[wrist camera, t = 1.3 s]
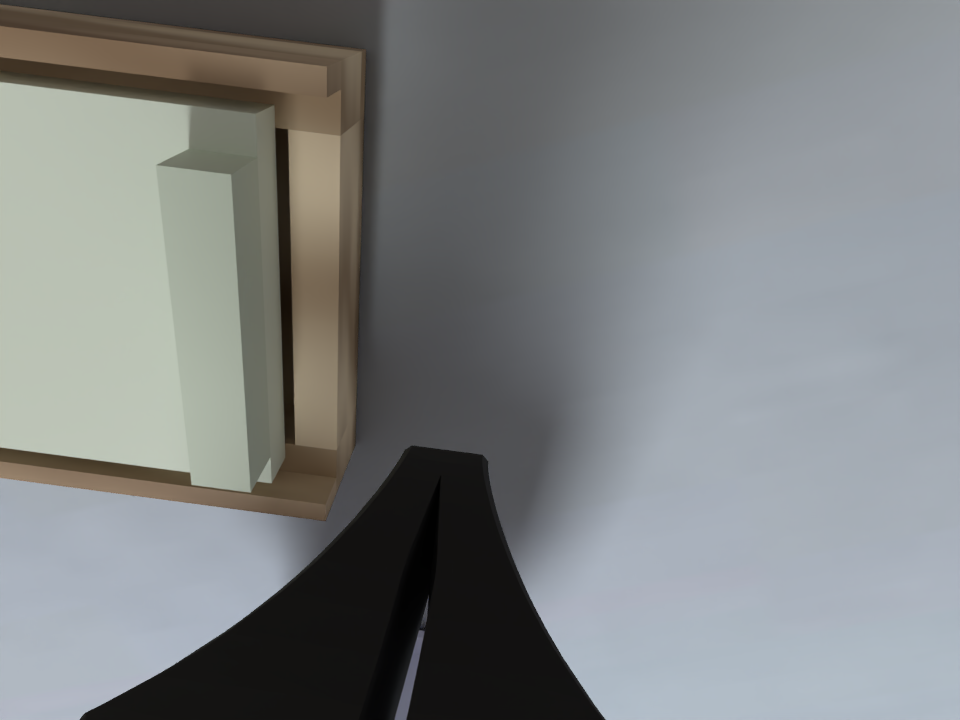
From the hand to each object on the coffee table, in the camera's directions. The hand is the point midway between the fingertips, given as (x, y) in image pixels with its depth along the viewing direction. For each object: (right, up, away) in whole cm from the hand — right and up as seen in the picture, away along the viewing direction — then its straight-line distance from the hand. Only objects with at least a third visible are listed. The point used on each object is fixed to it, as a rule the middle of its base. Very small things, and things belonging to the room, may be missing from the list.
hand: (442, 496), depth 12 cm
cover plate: (-10, +5, +6) cm, 12 cm away
